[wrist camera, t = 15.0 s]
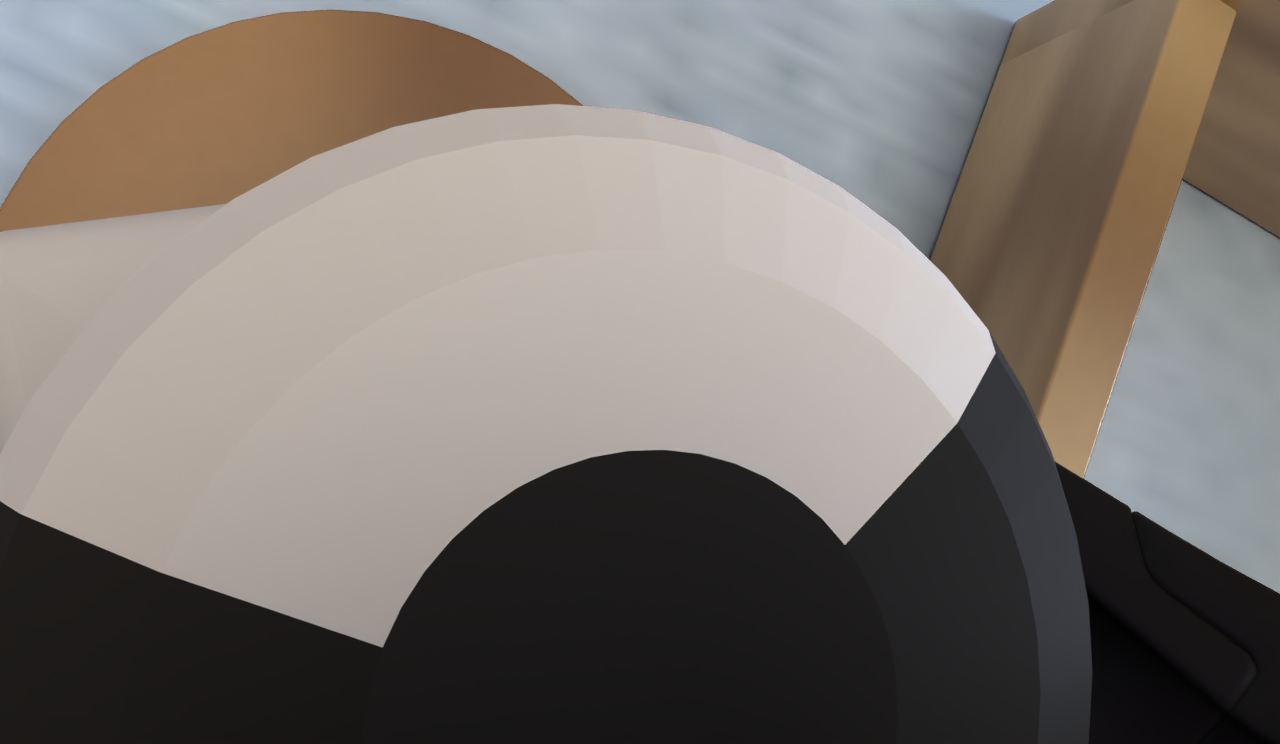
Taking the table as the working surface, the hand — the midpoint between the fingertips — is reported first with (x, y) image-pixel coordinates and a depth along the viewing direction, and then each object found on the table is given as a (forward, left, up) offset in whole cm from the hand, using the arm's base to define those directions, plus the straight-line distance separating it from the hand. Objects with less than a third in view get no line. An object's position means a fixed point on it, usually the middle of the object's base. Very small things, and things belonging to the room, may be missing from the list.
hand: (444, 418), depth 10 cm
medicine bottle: (0, -1, -7) cm, 7 cm away
